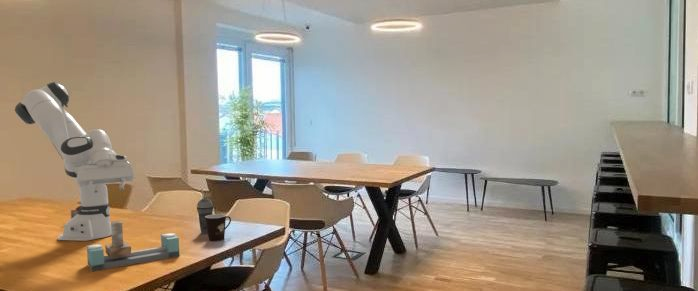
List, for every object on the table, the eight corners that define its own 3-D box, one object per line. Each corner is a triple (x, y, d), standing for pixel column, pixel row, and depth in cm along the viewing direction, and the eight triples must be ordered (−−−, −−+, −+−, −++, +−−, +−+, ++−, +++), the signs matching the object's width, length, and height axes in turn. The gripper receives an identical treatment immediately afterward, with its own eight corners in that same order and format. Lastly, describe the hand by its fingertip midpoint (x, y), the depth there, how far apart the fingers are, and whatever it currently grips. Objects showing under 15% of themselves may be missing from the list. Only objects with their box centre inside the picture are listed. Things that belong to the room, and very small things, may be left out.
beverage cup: (209, 234, 227) (207, 190, 225) (194, 234, 228) (192, 189, 227) (217, 230, 234) (215, 187, 232) (202, 230, 235) (200, 187, 234)
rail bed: (91, 271, 177) (90, 250, 176) (87, 264, 185) (86, 244, 185) (180, 255, 194) (179, 236, 194) (172, 250, 202) (171, 231, 202)
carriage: (110, 258, 181) (108, 226, 180) (105, 252, 188) (103, 221, 187) (131, 254, 185) (129, 223, 184) (126, 249, 192) (124, 219, 191)
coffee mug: (208, 242, 213) (207, 219, 212) (204, 238, 220) (203, 215, 220) (236, 239, 218) (235, 215, 217) (231, 234, 226) (230, 212, 225)
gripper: (73, 159, 194) (78, 188, 187) (130, 155, 206) (137, 182, 199) (73, 170, 198) (77, 198, 191) (129, 166, 210) (135, 192, 203)
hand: (108, 190), depth 195 cm, fingers open, 8 cm apart
